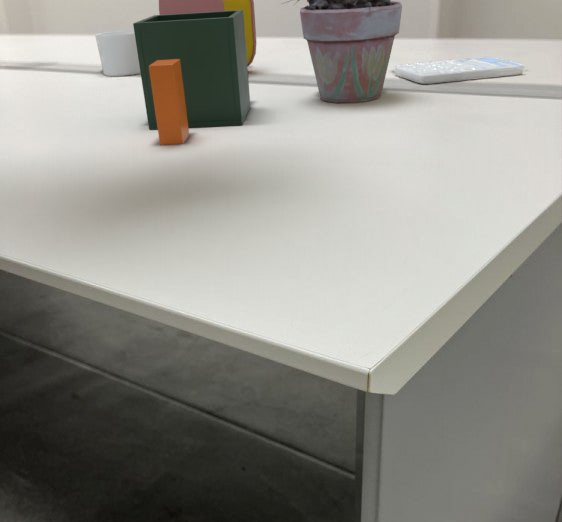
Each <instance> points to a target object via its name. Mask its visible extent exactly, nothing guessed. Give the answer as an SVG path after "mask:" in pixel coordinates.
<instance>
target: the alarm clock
mask: <svg viewBox="0 0 562 522" xmlns="http://www.w3.org/2000/svg"><path fill="white" fill-rule="evenodd" d="M233 10H243V14H244V27H245V41H246V54H247V67H248V68H249V66H251V64H253V62H254V59H255V56H256V54H257V30H256V15H255V2H254V0H158V13H159V14H158V15H167V14H184V13H200V12H217V11H233Z"/></svg>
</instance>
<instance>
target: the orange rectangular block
mask: <svg viewBox="0 0 562 522" xmlns="http://www.w3.org/2000/svg"><path fill="white" fill-rule="evenodd" d="M149 72H150V79H151V86H152V93H153V99H154V106H155V113H156V120H157V127H158V129H157V133H158V140H159V145H160V146H163V145H165V146H166V145H183V144H184V143H185V141H186V140H187V139H188V137H190V128H188V120H187V112H186V104H185V96H184V88H183V79H182V71H181V63H180V59H170V60H157V61H155V62H154V63H152V64H151V65H149Z"/></svg>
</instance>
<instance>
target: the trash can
mask: <svg viewBox="0 0 562 522" xmlns="http://www.w3.org/2000/svg"><path fill="white" fill-rule="evenodd" d="M132 26H133V30H134V33H135V40H136V46H137V53H138V59H139V66H140V73H141V74H140V78H141V85H142V91H143V92H142V93H143V97H144V104H145V111H146V117H147V124H148V130H149V131H151V130H158V127H157V120H156V113H155V106H154V99H153V93H152V86H151V79H150V72H149V65H151V64H152V63H154V62H155V61H157V60H170V59H180V63H181V71H182V79H183V88H184V96H185V104H186V112H187V120H188V128H189V129H192V128H193V129H195V128H212V127H213V128H215V127H233V126H234V127H235V126H236V127H237V126H243V124H244V122H245V120H246V118H247V115H248V113H249V111H250V108H251V96H250V82H249V81H250V80H249V70H248V69H249V66H248V67H247V54H246V41H245V27H244V14H243V10H233V11H217V12H200V13H184V14H167V15H160V14H154V15H151V16H148V17H146V18H143V19H141V20H139V21H136V22H135V21H134V22H133V23H132Z"/></svg>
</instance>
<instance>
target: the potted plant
mask: <svg viewBox="0 0 562 522" xmlns="http://www.w3.org/2000/svg"><path fill="white" fill-rule="evenodd" d="M292 1H293V0H288V1H285V2H283V3H281V5H283V4H286V3H289V2H292ZM299 1H300V0H296V1H295V3H294V5H296V4H297V3H298V2H299ZM306 2H307V3H308V5H305V6H304V7H301V8H300V9H299V16H300V23H301V29H302V37H303V39H304V40H306V42H307V47H308V51H309V54H310V60H311V63H312V67H313V72H314V76H315V80H316V84H317V90H318V93H319V99H320V101H323V102H329V103H333V104H356V103H357V104H358V103H365V102H371V101H375V100H378V99H380V97H382V92H383V88H384V85H385V81H386V75H387V71H388V67H389V62H390V58H391V53H392V49H393V45H394V41H395V36H396V35H398V34H399V33H400V28H401V27H400V26H401V19H402V10H403V5H402V2H400V1H394V0H306Z"/></svg>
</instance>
